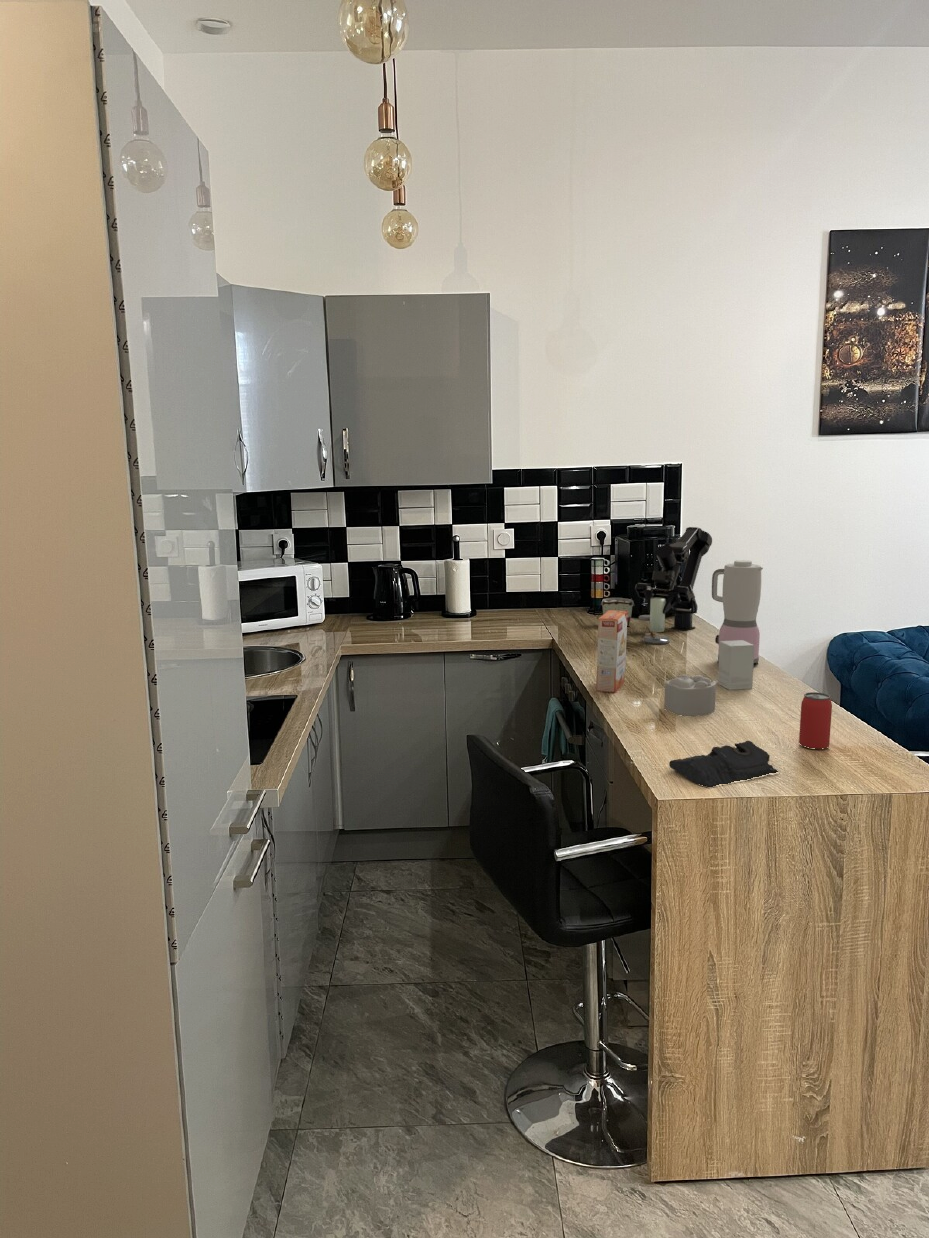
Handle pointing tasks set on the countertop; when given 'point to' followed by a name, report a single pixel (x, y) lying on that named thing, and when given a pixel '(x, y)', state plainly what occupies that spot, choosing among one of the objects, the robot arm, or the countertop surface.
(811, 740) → the beer can
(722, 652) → the supplement box
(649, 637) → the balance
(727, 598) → the blender
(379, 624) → the countertop surface
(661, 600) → the sage green rounded block
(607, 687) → the cracker box
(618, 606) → the food container
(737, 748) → the folded black cloth
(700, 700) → the lumpy-topped squat cylinder
